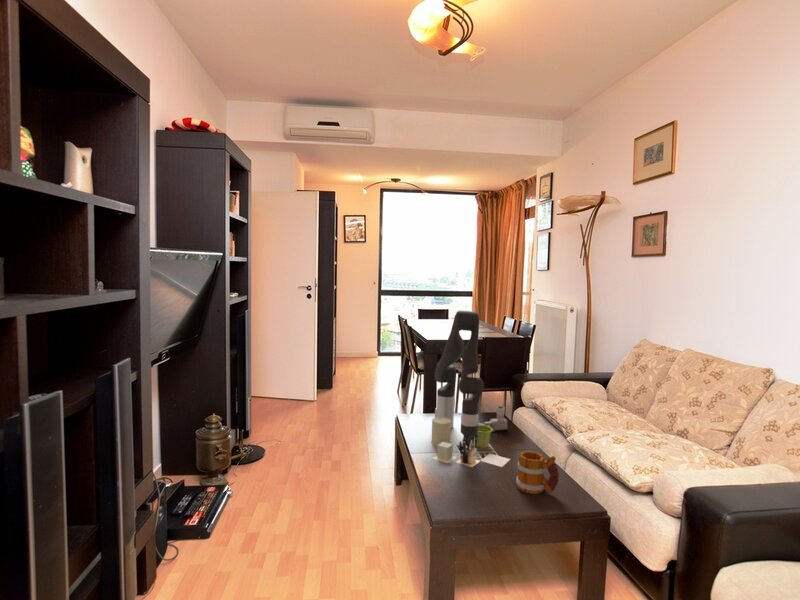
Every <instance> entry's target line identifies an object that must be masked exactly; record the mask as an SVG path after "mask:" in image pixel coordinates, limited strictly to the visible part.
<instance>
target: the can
mask: <svg viewBox="0 0 800 600" xmlns="http://www.w3.org/2000/svg"><path fill="white" fill-rule="evenodd" d="M450 427H451V420H450V419H448V418H444V417H436V418H435V417H433V418H432V419H431V441H430V443H431V444H432V445H433V446H435V447H438V444H440V443H442V442H446V443H450V444H451V429H450Z"/></svg>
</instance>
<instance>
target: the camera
mask: <svg viewBox="0 0 800 600" xmlns="http://www.w3.org/2000/svg"><path fill="white" fill-rule="evenodd" d="M505 407H506V406H504V405H503V406H502V405H497V406H496V418H490V419H489V421H484V422H483V423H481V422H478V425H485V426H489V427H491V428H492V432H496V431H503V430H508V419H506V418H505V412H506V411H505V410H506V409H505Z"/></svg>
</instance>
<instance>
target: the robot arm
mask: <svg viewBox="0 0 800 600" xmlns="http://www.w3.org/2000/svg"><path fill="white" fill-rule="evenodd" d="M453 318H454V319H453V323H452V325H451V330H450V333H449V336H448V339H447V341H446V343H445V346H444V349H443V351H442V354H441V358H440V359H439V361H438V362H437V365H436V366H435V370H434V379H435V381H436V382H437V383H441V384H444V385H443V386H442V387H439V388H438V389H437V391H436V407H435V409H434V418H436V417H444V418H448V419H450V420H451V427H450V430H451V429H453V428H454V419H455V418H454V416H455V393H456V392H455V391H456V383H457V382H456V381H457V369H456V366H455V365H453V364H454V363H456V362H458V361H459V360H460V359H461V374H460V380H459V382H458V389H459V392H460V393H461V394H465V395H469V394H470V395H472V396H470V397H467V398H464V399H463V400H462V403H461V416H460V417H461V418H460V434H461V435H462V436H463V438H462V440H461V441H459V454H460V455H461V454H463V463H466V464H467V463H468V453H469V450H470V448H471V447H475V448H476V449H477V447H478V446H477V440H478V423H479V406H480V405H479V403H480V400H481V396H482V393H483V392H484V391H483V390H484V386H485V385H484V384H485V383H484V381H483V379H482V378H481V377H468V376H469V375H473V374H476V373H477V372H478V371H479V358H478V357H479V356H478V346H479V331H480V317H479V313H478V312H476V311H472V310H471V311H470V310H457V311H456V312H455V314H454V317H453ZM461 331H468V332H471V333H470V337H469V340H468V342H467V344H466V345H465V342H464V339H463V338H462V336H461V333H460V332H461ZM466 446H468V448H467V447H466ZM466 449H467V452H466Z"/></svg>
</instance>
